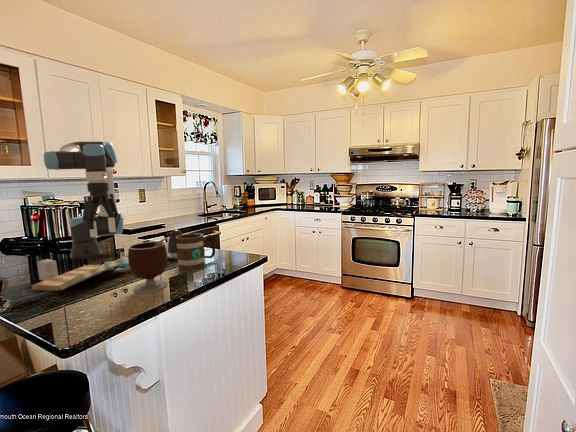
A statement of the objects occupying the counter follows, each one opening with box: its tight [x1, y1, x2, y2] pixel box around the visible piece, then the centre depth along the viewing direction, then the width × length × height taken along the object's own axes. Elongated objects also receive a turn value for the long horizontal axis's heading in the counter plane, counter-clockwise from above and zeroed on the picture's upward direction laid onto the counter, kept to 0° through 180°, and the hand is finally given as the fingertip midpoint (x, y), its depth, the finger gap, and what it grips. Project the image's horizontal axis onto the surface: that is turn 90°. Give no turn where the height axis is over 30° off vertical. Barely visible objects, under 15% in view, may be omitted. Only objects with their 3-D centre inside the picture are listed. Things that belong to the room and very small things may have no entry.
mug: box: [176, 233, 216, 272], centre depth 151 cm, size 20×14×15 cm
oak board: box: [31, 264, 103, 292], centre depth 138 cm, size 28×12×2 cm, turn 171°
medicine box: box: [36, 258, 59, 282], centre depth 137 cm, size 8×4×9 cm, turn 59°
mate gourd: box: [127, 237, 169, 294], centre depth 122 cm, size 16×14×20 cm
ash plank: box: [59, 255, 128, 291], centre depth 135 cm, size 28×12×2 cm, turn 171°
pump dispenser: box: [165, 229, 184, 259], centre depth 167 cm, size 10×10×15 cm
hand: (103, 234), depth 133 cm, fingers open, 10 cm apart
